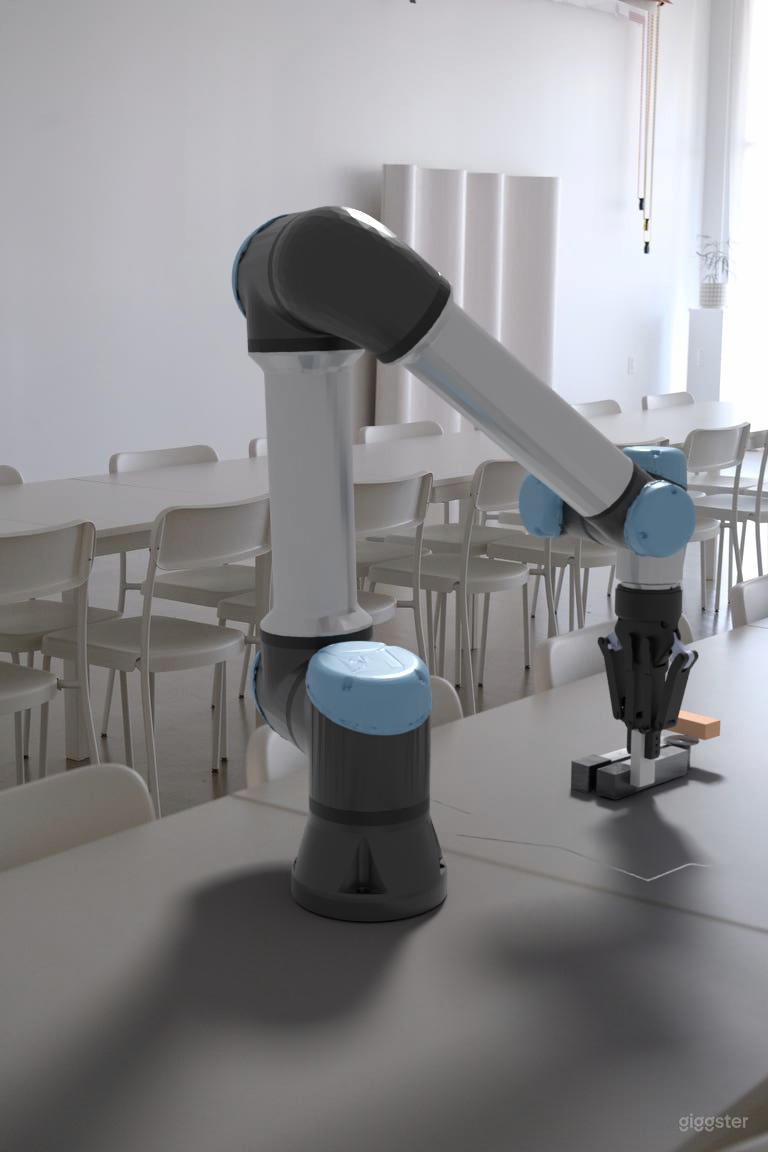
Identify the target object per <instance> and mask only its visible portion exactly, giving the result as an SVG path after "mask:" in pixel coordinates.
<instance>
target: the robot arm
mask: <svg viewBox="0 0 768 1152" xmlns="http://www.w3.org/2000/svg"><path fill="white" fill-rule="evenodd" d="M231 287H232V289H231V290H232V294H233V297H234V300H235V302H236V306H237V307H238V309H239V311H240V313H241V314H242V315H243V317H244V318H245V321H246V334H247V335H246V338H247V341H246V343H247V356H248V357H250V359H251V360H252V361H254V362H255V364H256V365H258V367H260V368H261V370H262V372H263V376H264V377H263V378H264V399H265V403H264V404H265V421H266V423H265V425H266V427H265V428H266V429H265V430H266V444H267V445H266V446H267V449H266V451H267V468H268V469H267V472H268V474H267V475H268V495H269V498H268V499H269V516H270V517H269V519H270V521H269V522H270V539H271V540H270V542H271V543H270V544H271V545H270V546H271V565H272V566H271V567H272V568H271V571H272V589H273V590H272V591H273V607H272V609H270V611H269V612H267V614H266V615H265V616H264V617H263V618H262V619H261V621H260V623H259V631H260V648H259V650H258V651H257V652H256V654H255V656H254V659H253V661H252V663H251V664H252V665H251V669H250V674H249V675H250V677H249V684H250V686H249V687H250V693H251V697H252V700H253V702H254V705H255V708H256V709H257V710H258V712H259V714H260V716H261V717H262V719H263V720H264V721H265V723H266V725H267V726H268V727H269V728H270V729H271V730H272V731H274V732H275V733H277V734H278V735H279V736H280V738H282V739H284V740H285V741H288V742H289V743H291V744H292V745H293V746H294V747H296V748H297V749H298V750H299V751H301V752H302V754H304V755H305V756H306V757H307V762H308V763H307V764H308V767H307V768H308V769H307V770H308V777H307V778H308V816H307V820H306V823H305V826H304V830H303V833H302V837H301V840H300V844H299V847H298V851H297V852H298V853H297V856H296V857H295V859H294V862H293V864H292V866H291V871H290V872H291V873H290V874H291V881H290V882H291V884H290V885H291V886H290V887H291V895H292V898H293V899H294V901H295V902H296V903H297V904H298V905H300V906H302V908H304V909H306V910H308V911H310V912H312V913H315V914H317V915H321V916H322V917H323V916H324V917H328V918H333V919H336V920H343V921H351V922H352V921H353V922H356V921H357V922H383V921H384V922H385V921H395V920H401V919H406V918H411V917H415V916H418V915H421V914H423V913H426V912H428V911H431V910H432V909H433V908H436V907H437V906H438V905H440V904H441V903H442V902H444V900H445V899H446V896H447V894H448V885H449V881H448V875H449V874H448V873H449V872H448V866H447V863H446V860H445V858H444V857H443V853H442V849H441V845H440V841H439V838H438V835H437V832H436V829H435V827H434V824H433V820H432V816H431V808H430V807H431V796H430V795H431V794H430V793H431V751H432V749H431V744H432V742H431V741H432V735H431V734H432V732H431V731H432V730H431V729H432V710H433V704H434V703H433V693H432V690H431V681H430V680H431V678H430V672H429V669H428V667H427V665H426V663H425V662H424V661H423V660H422V659H421V658H420V657H419V656H418V655H416V654H415V653H413V652H412V651H410V650H408V649H405V648H403V647H400V646H396V645H392V646H391V645H387V644H386V643H384V642H377V641H374V626H373V625H374V624H373V617H372V616H371V615H370V614H369V613H368V612H367V611H366V610H365V609H364V608H362V607H361V606H360V604H359V603H358V591H357V589H358V587H357V586H358V584H357V583H358V582H357V557H356V556H357V555H356V553H357V549H356V548H357V547H356V526H355V525H356V523H355V521H356V520H355V517H356V516H355V515H356V514H355V489H354V485H355V484H354V459H353V457H354V456H353V455H354V454H353V453H354V452H353V451H354V450H353V423H352V419H353V418H352V395H351V394H352V393H351V391H352V389H351V388H352V387H351V384H352V383H351V369H352V367H353V365H354V364H355V363H357V361H358V360H359V359H360V358H361V357H362V356H363V355H364V353H365V352H368V354H369V353H370V355H372V356H373V357H374V358H376V360H378V361H379V362H380V363H381V364H382V365H384V366H388V367H389V366H396V365H401V366H402V367H404V368H405V369H406V370H407V371H408V372H409V373H411V374H412V375H413V376H414V377H415V378H416V379H418V380H419V381H420V382H421V383H423V384H424V385H425V386H426V387H427V388H429V389H430V390H431V391H432V392H433V393H434V394H436V396H438V397H439V398H440V399H441V400H443V401H444V402H445V403H446V404H448V405H449V406H450V407H451V408H452V409H453V410H455V411H456V412H457V413H458V414H459V415H461V416H462V417H463V418H464V419H465V420H467V421H468V422H470V424H472V426H474V427H475V428H476V429H478V430H479V431H480V433H482V434H483V435H484V436H486V437H487V438H488V439H489V440H490V441H492V442H493V443H494V444H495V445H497V446H498V447H499V449H501V450H502V451H504V452H505V453H506V454H507V455H509V456H510V458H512V459H513V460H514V461H516V462H517V463H518V464H519V465H520V466H521V467H523V468H524V469H525V470H527V472H529V473H528V474H527V475H526V476H525V478H524V479H523V481H521V482H522V483H521V486H520V488H519V493H518V513H519V516H520V517H519V518H520V520H521V524H523V525H522V526H523V527H524V529H525V530H526V532H527V533H528V534H529V535H531V536H533V537H534V538H538V539H539V538H540V539H541V538H544V539H545V538H550V539H553V540H558V539H559V538H574V539H579V540H583V541H587V542H590V543H595V544H598V545H603V546H607V547H610V548H614V549H616V552H615V553H616V555H615V575H614V577H615V579H616V580H617V581H618V582H619V583H618V584H617V585H616V586H615V588H614V590H615V591H614V594H615V595H614V613H615V615H616V617H617V620H616V623H615V625H614V631H612V632H611V633H609V634H607V635H602V636H599V637H598V638H597V644H598V647H599V649H600V651H601V653H602V656H603V660H604V661H603V662H604V666H605V667H604V668H605V672H606V679H607V686H608V691H609V699H610V704H611V711H612V717H613V719H615V720H618V721H619V720H620V721H621V722H622V723H624V725H625V727H626V728H627V729H626V748H627V752H628V754H631V766H630V770H631V775H630V785H633V786H637V787H642V786H645V785H649V784H652V783H654V778H655V758H659V755H660V741H661V736H662V731H664V730H665V729H668V728H672V727H675V726H676V724H677V720H678V716H679V712H680V710H681V707H682V704H683V701H684V700H683V699H684V696H685V692H686V688H687V683H688V680H689V676H690V672H691V669H692V668H693V666H694V665H695V664H696V662H697V660H698V659H699V652H698V651H697V650H696V649H691V650H689V648H687V647H686V645H685V644H684V643H683V642H682V635H681V631H680V629H679V621H680V620H681V617H682V614H683V613H682V612H683V591H684V590H683V588H682V587H681V585H679V584H680V583H681V582H682V581H683V580H684V578H683V577H684V557H685V556H684V555H685V553H684V549H685V547H686V546H687V544H688V543H689V542H690V540H691V538H692V536H693V534H694V532H695V529H696V524H697V511H696V506H695V503H694V501H693V499H692V497H691V495H690V494H689V493H688V489H689V485H688V466H687V465H688V464H687V456H686V454H685V453H684V451H683V450H681V449H679V448H676V447H672V446H671V447H670V446H658V445H657V446H653V445H651V446H647V445H646V446H645V445H644V446H643V445H641V446H639V445H637V446H636V445H635V446H627V447H624V448H622V449H620V448H619V447H618V446H617V445H616V444H614V443H613V442H612V440H610V439H609V438H607V437H606V436H605V434H604V433H602V432H601V431H600V430H599V429H597V427H595V426H594V425H593V424H592V423H591V422H590V421H588V420H587V419H586V417H584V416H583V415H582V414H581V413H580V412H578V411H577V410H576V409H575V408H574V407H573V406H572V405H571V404H570V403H568V402H567V401H566V400H565V399H564V397H561V395H559V394H558V393H557V392H556V391H555V390H553V388H552V387H550V386H549V385H548V384H547V382H545V381H544V380H542V378H540V377H539V376H538V375H537V374H536V373H535V372H534V371H532V369H530V368H529V367H528V366H527V365H526V364H524V362H523V361H521V360H520V359H519V358H518V357H517V356H516V355H515V354H513V353H512V351H510V350H509V349H508V348H507V347H506V346H505V345H503V343H501V342H500V341H499V340H498V339H497V338H496V337H495V336H494V335H492V334H491V333H490V332H489V331H488V330H487V329H486V328H484V326H482V325H481V324H480V323H479V322H478V321H477V320H476V319H474V317H472V315H470V314H469V313H468V312H467V311H465V310H464V309H463V308H462V307H461V306H460V305H459V304H458V303H457V302H455V301H454V286H453V284H452V283H451V282H450V281H449V280H448V279H447V278H446V277H444V275H442V274H441V273H440V272H439V271H438V270H436V269H435V268H434V267H433V265H431V264H430V263H429V262H428V261H427V260H425V259H424V258H423V256H421V255H420V253H418V252H417V251H416V250H414V249H413V248H412V247H411V246H410V245H408V244H407V242H405V241H404V240H403V239H402V238H400V237H399V236H398V235H397V234H395V233H394V232H393V231H392V230H390V229H389V228H388V227H387V226H386V225H384V224H383V223H381V222H380V221H378V220H376V219H375V218H373V217H372V216H370V215H369V214H366V213H364V212H363V211H360V210H357V209H354V208H352V207H347V206H342V205H341V206H340V205H325V206H324V205H323V206H319V207H316V208H312V209H309V210H304V211H298V212H297V211H296V212H292V213H284V214H281V215H278V216H276V217H273V218H271V219H269V220H267V221H266V222H265V223H263V224H261V225H260V226H259V227H257V228H256V229H255V230H253V231H252V232H251V233H250V234H249V235H248V236H247V237H246V238H245V240H244V241H243V242H242V244H241V245H240V247H239V249H238V251H237V252H236V255H235V258H234V261H233V264H232V270H231ZM669 663H671V664H670V665H669Z"/></svg>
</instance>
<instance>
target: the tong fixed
mask: <svg viewBox="0 0 768 1152" xmlns="http://www.w3.org/2000/svg"><path fill="white" fill-rule="evenodd" d="M667 737H668V736H667ZM667 737H666V736H663V735H661V741H660V749H663V748H666V747H669V746H674V747H678V748H682V749H686V750H688V761H687V770H688V769H690V768H691V753H692V752H691V751H692V750H691V749H692V746H680V745H674V744H671V743H668V742H667V741H666V738H667ZM629 759H631V754H628V752H627V747H624V748H621V749H617V750H614V751H610V752H607V753H604V754H601V755H597V754H594V753H593V754H591V755H587V756H584V757H580V758H577V759H574V760H571V763H570V764H571V767H570V768H571V769H570V770H571V771H570V788H571V789H573V790H577V791H579V792H583V793H586V794H590V793H594V792H596V791H597V769H599V768H602V767H606V766H609V765H612V764H615V763H618V762H623V761H626V760H629Z"/></svg>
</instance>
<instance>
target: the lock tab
mask: <svg viewBox="0 0 768 1152" xmlns="http://www.w3.org/2000/svg"><path fill="white" fill-rule="evenodd" d="M665 730H666V731H669V732H672V733H676V734H679V735H687V736H691V737H694V738H698V739H699V740H703V741H708V740H710V739H714V738H716V737H720V735H721V719H717V718H713V717H710V716H706V715H701V714H699V713H698V714H697V713H693V712H690V711H685V710H681V709H680V712H679V716H678V720H677V724H676V726H675V727H672V728H668V729H665Z"/></svg>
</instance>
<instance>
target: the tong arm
mask: <svg viewBox="0 0 768 1152" xmlns="http://www.w3.org/2000/svg"><path fill="white" fill-rule="evenodd" d="M666 741H667V742H668V743H671V744H674V745H680V746H691V747H692V746H696V745H698V744H699V743H700V739H698V738H694V737H691V736H687V735H683V734H675V735H674V734H672V735H668V736H667V738H666ZM687 761H688V750H686V749H682V748H678V747H674V746H669V747H666V748H663V749H660V755H659V758H655V778H654V783H652V784H649V785H645V786H642V787H637V786H633V785H630V775H631V770H630V766H631V759H629V760H626V761H623V762H618V763H615V764H612V765H609V766H606V767H602V768H599V769H597V791H595V792H596V795H598V796H602V797H605V798H609V799H611V800H614V801H616V800H617V799H621V798H624V797H627V796H629V795H630V796H631V795H633V794H636V793H637V792H639V791H642V790H645V789H648V788H651V787H653V786H656V785H659V784H663V783H665V782H668V781H671V780H673V779H677V778H679V777H682V776H685V775H687V774H688V769H687Z"/></svg>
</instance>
